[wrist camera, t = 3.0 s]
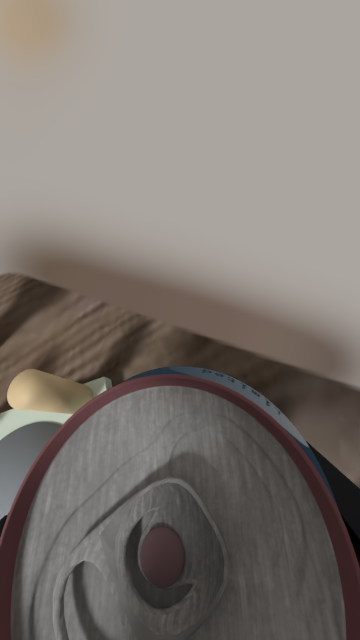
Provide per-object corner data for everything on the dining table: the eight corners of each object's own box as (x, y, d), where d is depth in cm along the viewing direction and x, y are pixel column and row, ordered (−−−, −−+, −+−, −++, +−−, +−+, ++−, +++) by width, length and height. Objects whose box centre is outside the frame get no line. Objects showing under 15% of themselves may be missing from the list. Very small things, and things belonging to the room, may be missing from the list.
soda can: (209, 381, 16) (197, 291, 5) (283, 474, 13) (593, 694, 2) (130, 444, 15) (-81, 488, 4) (191, 562, 12) (0, 1693, 1)
